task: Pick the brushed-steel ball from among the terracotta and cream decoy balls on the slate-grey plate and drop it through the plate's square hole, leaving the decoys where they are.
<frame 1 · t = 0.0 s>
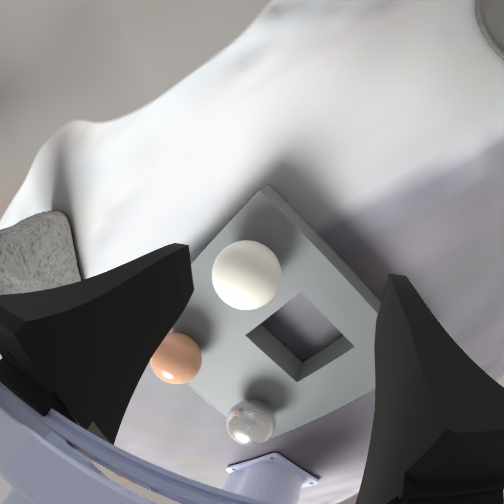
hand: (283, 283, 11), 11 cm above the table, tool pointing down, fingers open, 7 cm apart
decorative stone: (66, 256, 29), on the table
cream ball: (246, 275, 18), point 4 cm above the table, touching hole plate
hole plate: (268, 334, 25), on the table
terracotta ball: (175, 358, 22), point 4 cm above the table, touching hole plate
steel ball: (251, 422, 23), point 4 cm above the table, touching hole plate
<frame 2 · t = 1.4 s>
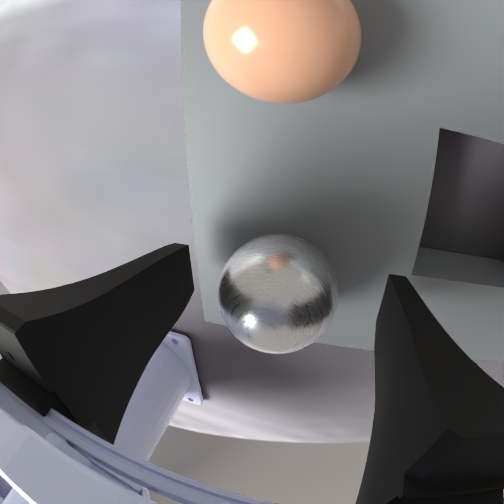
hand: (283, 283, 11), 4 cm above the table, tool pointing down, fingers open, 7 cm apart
hole plate: (412, 161, 11), on the table
terracotta ball: (282, 32, 6), point 4 cm above the table, touching hole plate
steel ball: (278, 293, 10), point 4 cm above the table, touching hole plate
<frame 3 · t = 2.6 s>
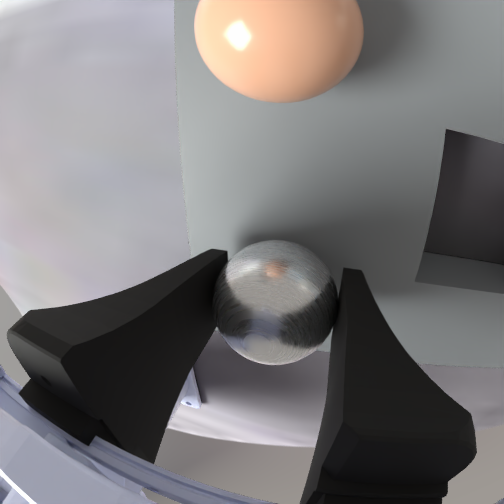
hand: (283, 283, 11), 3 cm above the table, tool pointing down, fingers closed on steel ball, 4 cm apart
hole plate: (416, 163, 11), on the table
terracotta ball: (279, 27, 6), point 4 cm above the table, touching hole plate
steel ball: (275, 302, 10), point 4 cm above the table, touching gripper, hole plate
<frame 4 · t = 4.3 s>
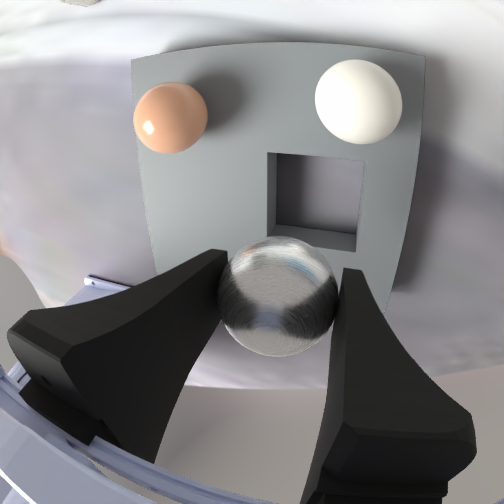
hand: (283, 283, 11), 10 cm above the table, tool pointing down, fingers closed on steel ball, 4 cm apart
cream ball: (358, 101, 12), point 4 cm above the table, touching hole plate
hole plate: (273, 170, 20), on the table
terracotta ball: (170, 117, 15), point 4 cm above the table, touching hole plate
steel ball: (278, 296, 10), point 11 cm above the table, touching gripper
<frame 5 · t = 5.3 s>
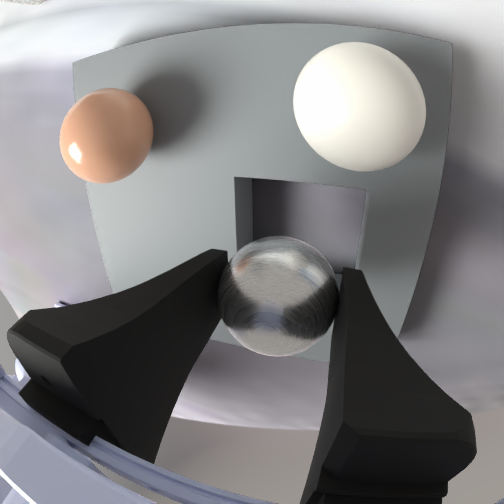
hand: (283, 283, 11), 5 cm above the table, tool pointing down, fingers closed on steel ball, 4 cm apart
cream ball: (360, 105, 8), point 4 cm above the table, touching hole plate
hole plate: (247, 196, 16), on the table
terracotta ball: (106, 135, 11), point 4 cm above the table, touching hole plate
steel ball: (278, 296, 10), point 6 cm above the table, touching gripper
when the fingers open (5 cm above the table, at t = 6.1 s): steel ball drops 4 cm, point 2 cm above the table.
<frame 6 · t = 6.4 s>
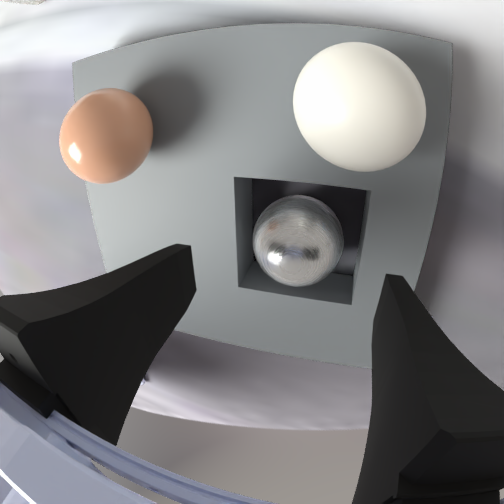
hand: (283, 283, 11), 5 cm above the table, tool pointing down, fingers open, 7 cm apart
cream ball: (360, 106, 8), point 4 cm above the table, touching hole plate
hole plate: (247, 196, 16), on the table
terracotta ball: (105, 135, 11), point 4 cm above the table, touching hole plate
steel ball: (298, 240, 14), point 2 cm above the table
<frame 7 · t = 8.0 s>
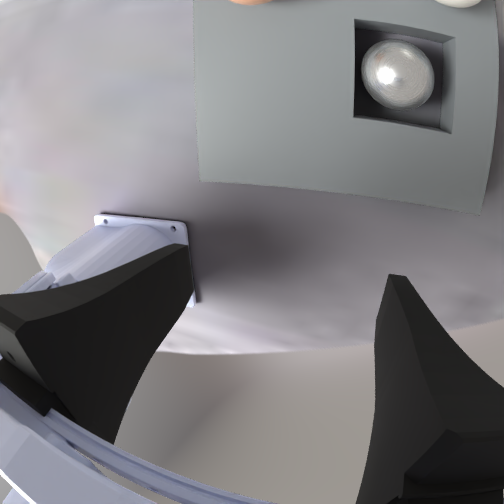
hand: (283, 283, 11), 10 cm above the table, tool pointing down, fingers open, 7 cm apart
hole plate: (349, 54, 15), on the table
steel ball: (398, 74, 13), point 2 cm above the table, tilted 7°
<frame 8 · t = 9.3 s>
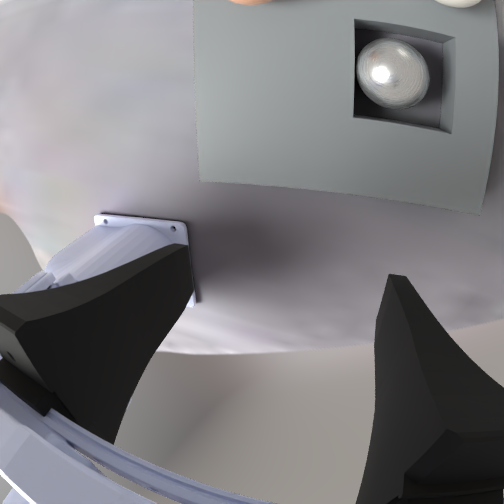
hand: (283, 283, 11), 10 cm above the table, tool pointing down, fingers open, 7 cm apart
hole plate: (349, 54, 15), on the table
steel ball: (392, 73, 13), point 2 cm above the table, tilted 15°
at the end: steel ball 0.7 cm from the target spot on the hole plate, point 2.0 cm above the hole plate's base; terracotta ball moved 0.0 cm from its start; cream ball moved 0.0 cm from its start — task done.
